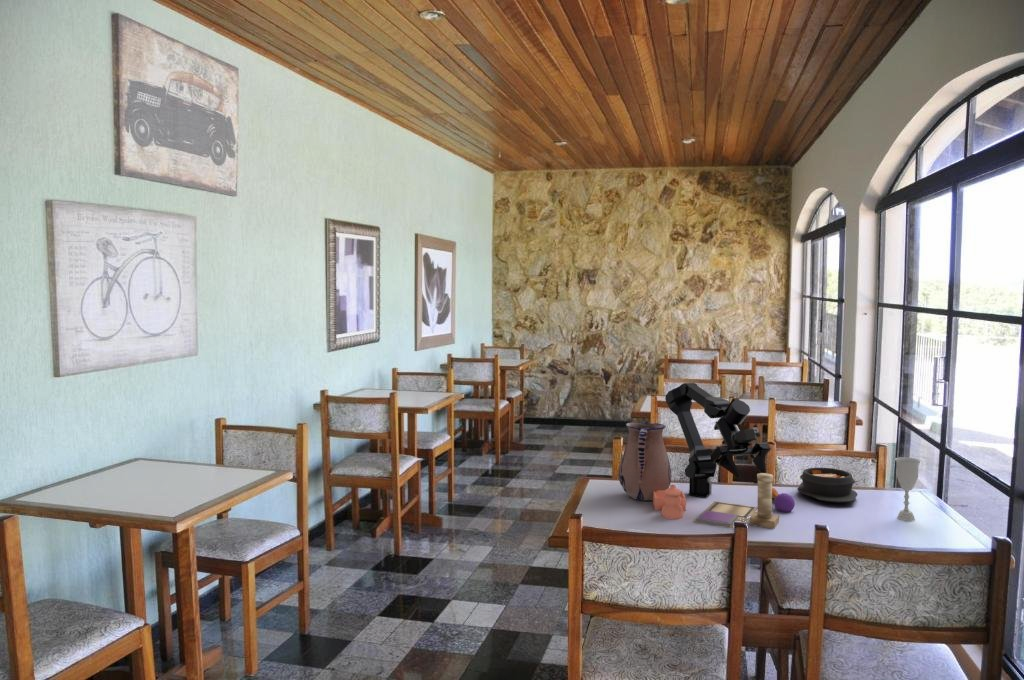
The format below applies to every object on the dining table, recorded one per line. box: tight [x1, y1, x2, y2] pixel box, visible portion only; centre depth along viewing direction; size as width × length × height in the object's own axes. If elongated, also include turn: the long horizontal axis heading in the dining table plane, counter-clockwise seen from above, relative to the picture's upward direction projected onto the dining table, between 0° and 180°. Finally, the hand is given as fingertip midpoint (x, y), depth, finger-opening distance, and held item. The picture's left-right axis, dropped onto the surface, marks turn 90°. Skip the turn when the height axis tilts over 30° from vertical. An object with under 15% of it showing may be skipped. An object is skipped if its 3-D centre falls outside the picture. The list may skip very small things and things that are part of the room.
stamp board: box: [692, 501, 757, 529], centre depth 225 cm, size 14×25×1 cm, turn 149°
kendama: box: [772, 487, 796, 513], centre depth 236 cm, size 6×6×20 cm
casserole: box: [796, 467, 858, 503], centre depth 245 cm, size 25×19×8 cm
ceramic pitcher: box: [618, 420, 672, 501], centre depth 244 cm, size 18×21×25 cm
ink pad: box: [695, 509, 738, 528], centre depth 220 cm, size 10×10×1 cm
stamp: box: [749, 472, 780, 529], centre depth 216 cm, size 7×7×15 cm
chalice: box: [894, 456, 921, 522], centre depth 221 cm, size 7×7×18 cm
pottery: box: [652, 484, 687, 520], centre depth 230 cm, size 18×10×10 cm, turn 173°
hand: (752, 476), depth 221 cm, fingers open, 9 cm apart
